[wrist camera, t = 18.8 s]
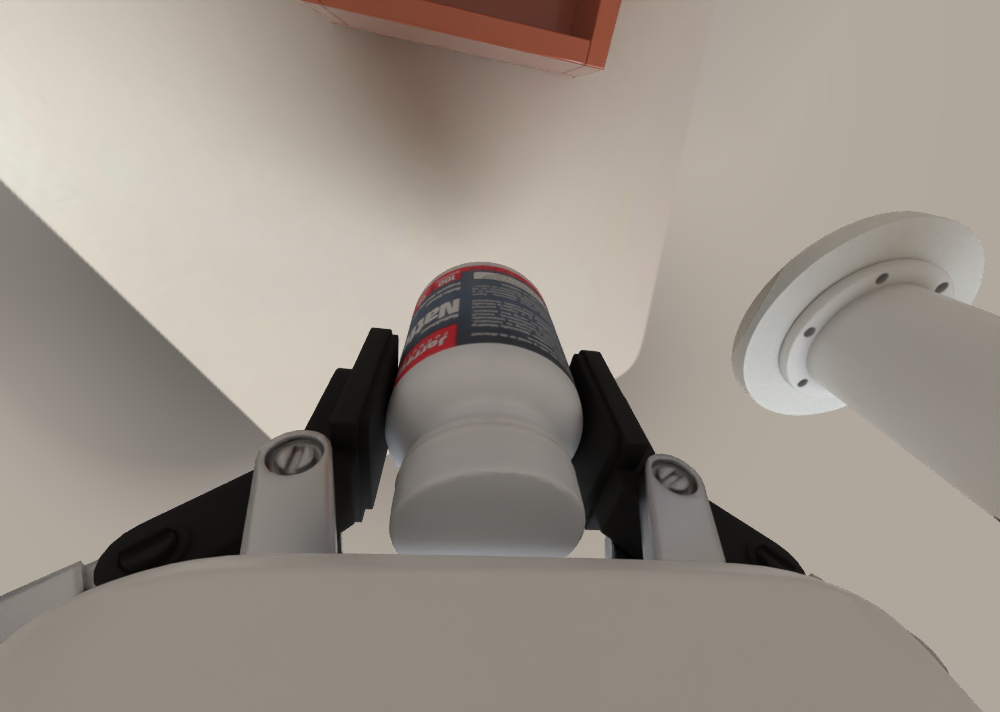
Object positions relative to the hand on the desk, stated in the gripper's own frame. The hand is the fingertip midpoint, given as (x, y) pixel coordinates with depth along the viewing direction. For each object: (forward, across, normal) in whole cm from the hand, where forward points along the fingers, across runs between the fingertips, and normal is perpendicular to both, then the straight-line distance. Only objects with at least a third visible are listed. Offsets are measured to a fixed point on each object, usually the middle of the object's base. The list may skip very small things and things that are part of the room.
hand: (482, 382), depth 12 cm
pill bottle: (+4, 0, 0) cm, 4 cm away
